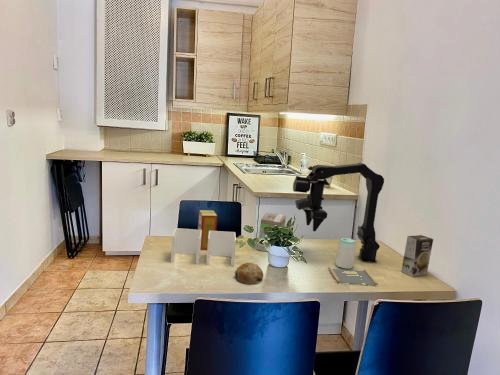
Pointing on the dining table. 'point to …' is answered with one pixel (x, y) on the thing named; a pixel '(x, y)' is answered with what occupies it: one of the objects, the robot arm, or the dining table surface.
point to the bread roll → (249, 273)
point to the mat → (353, 277)
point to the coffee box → (417, 255)
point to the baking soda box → (206, 225)
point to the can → (345, 253)
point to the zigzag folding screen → (191, 243)
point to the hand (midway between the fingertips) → (310, 228)
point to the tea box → (269, 225)
